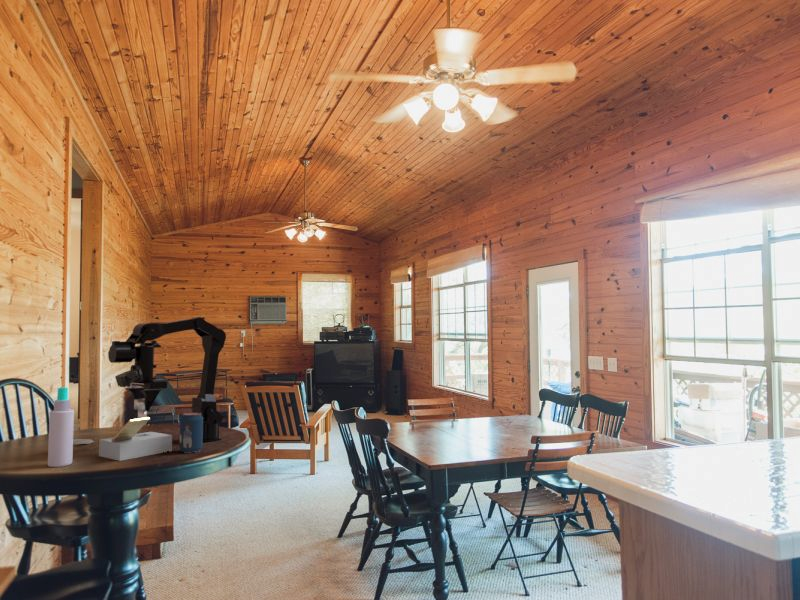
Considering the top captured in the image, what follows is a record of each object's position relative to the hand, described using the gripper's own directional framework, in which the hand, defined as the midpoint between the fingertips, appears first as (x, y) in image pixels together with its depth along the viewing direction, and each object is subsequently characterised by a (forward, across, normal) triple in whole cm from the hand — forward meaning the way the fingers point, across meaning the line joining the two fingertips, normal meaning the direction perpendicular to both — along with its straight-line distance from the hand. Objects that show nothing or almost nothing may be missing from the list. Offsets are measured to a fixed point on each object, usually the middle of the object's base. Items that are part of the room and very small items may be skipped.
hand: (142, 410), depth 178 cm
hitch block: (+13, +2, -3) cm, 14 cm away
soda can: (+13, +14, +9) cm, 21 cm away
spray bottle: (+13, -1, -24) cm, 27 cm away
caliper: (+14, -24, -10) cm, 29 cm away
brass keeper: (+4, +9, -8) cm, 13 cm away
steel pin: (+4, 0, 0) cm, 4 cm away
